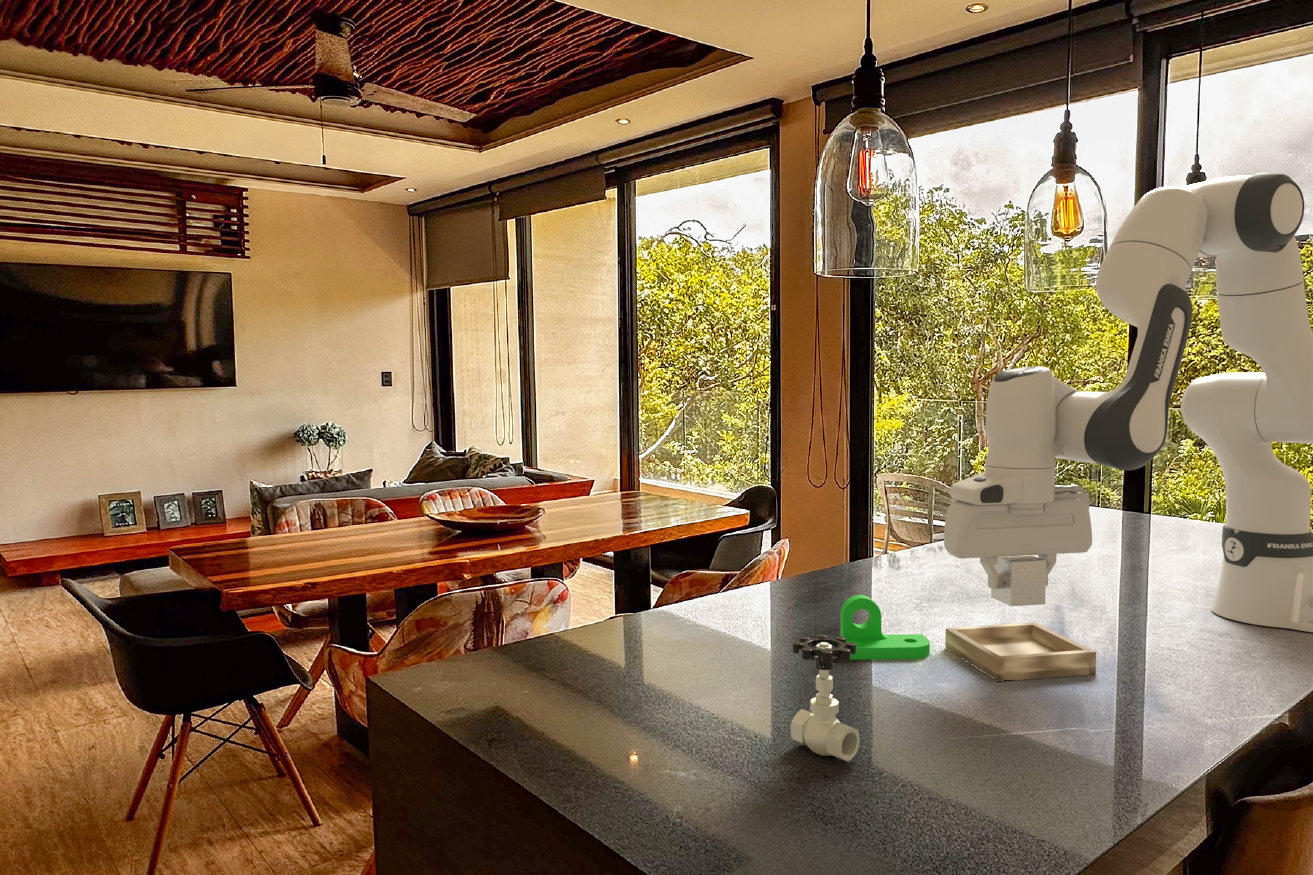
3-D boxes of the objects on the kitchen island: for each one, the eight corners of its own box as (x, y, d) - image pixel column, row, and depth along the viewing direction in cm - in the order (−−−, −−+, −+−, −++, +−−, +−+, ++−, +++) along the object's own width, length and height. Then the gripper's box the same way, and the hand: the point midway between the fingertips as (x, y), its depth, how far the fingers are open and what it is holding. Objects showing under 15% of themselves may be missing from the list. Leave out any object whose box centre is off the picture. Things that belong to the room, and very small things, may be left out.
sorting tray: (1034, 642, 131) (1034, 622, 131) (1095, 673, 117) (1096, 651, 117) (945, 648, 129) (945, 628, 128) (997, 681, 115) (997, 659, 115)
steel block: (1024, 595, 125) (1024, 553, 124) (1045, 604, 120) (1045, 560, 120) (991, 597, 124) (991, 554, 124) (1010, 606, 119) (1011, 562, 119)
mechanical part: (848, 662, 124) (848, 605, 124) (840, 648, 130) (840, 594, 130) (934, 660, 124) (935, 604, 124) (922, 647, 130) (922, 593, 130)
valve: (820, 735, 99) (820, 630, 98) (869, 754, 94) (869, 643, 93) (780, 752, 95) (779, 642, 94) (829, 773, 90) (828, 657, 89)
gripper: (1074, 481, 126) (1072, 577, 127) (939, 486, 122) (938, 585, 123) (1103, 487, 119) (1101, 588, 120) (961, 492, 116) (960, 596, 117)
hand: (1017, 586), depth 122 cm, fingers closed on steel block, 5 cm apart
